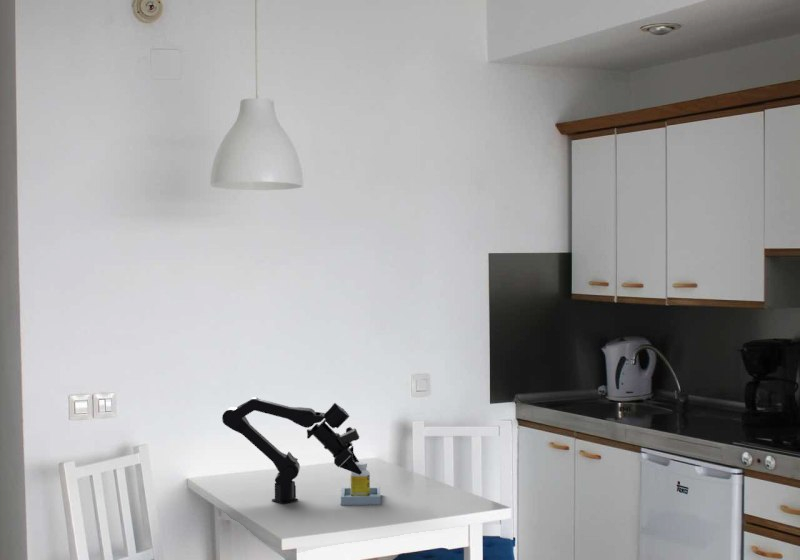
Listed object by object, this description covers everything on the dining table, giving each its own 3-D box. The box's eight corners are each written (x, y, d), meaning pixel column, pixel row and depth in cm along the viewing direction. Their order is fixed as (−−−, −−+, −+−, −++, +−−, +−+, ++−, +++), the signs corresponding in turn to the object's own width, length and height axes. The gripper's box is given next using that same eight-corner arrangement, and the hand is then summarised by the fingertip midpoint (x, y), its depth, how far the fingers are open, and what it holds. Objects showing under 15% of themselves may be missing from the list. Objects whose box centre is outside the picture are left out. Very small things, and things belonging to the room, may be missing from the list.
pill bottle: (367, 500, 304) (367, 465, 304) (348, 499, 306) (348, 464, 306) (371, 495, 311) (371, 461, 311) (353, 495, 312) (353, 461, 312)
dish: (380, 504, 302) (380, 496, 302) (341, 504, 301) (340, 497, 301) (380, 494, 315) (379, 487, 315) (342, 495, 314) (342, 487, 314)
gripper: (344, 425, 298) (378, 459, 299) (345, 416, 317) (377, 448, 317) (320, 449, 298) (354, 483, 298) (323, 439, 317) (354, 471, 317)
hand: (361, 470), depth 308 cm, fingers open, 9 cm apart
